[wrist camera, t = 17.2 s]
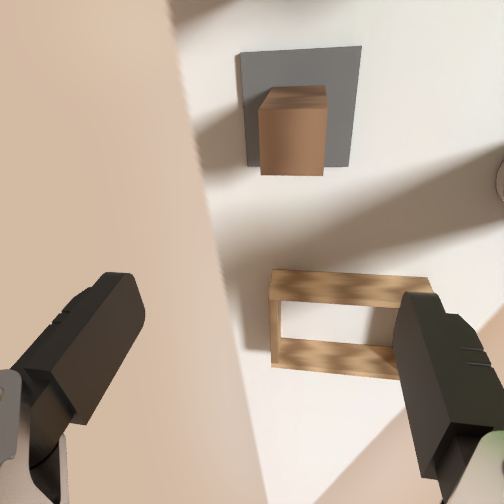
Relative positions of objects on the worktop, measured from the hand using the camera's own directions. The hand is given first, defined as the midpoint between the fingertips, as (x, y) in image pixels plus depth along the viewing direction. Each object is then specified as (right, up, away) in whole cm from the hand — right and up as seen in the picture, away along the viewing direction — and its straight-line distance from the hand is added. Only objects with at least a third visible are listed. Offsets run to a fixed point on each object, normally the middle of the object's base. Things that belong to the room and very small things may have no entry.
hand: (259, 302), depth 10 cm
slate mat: (+4, +16, +24) cm, 29 cm away
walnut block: (+4, +15, +23) cm, 28 cm away
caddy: (+13, -7, +39) cm, 41 cm away
